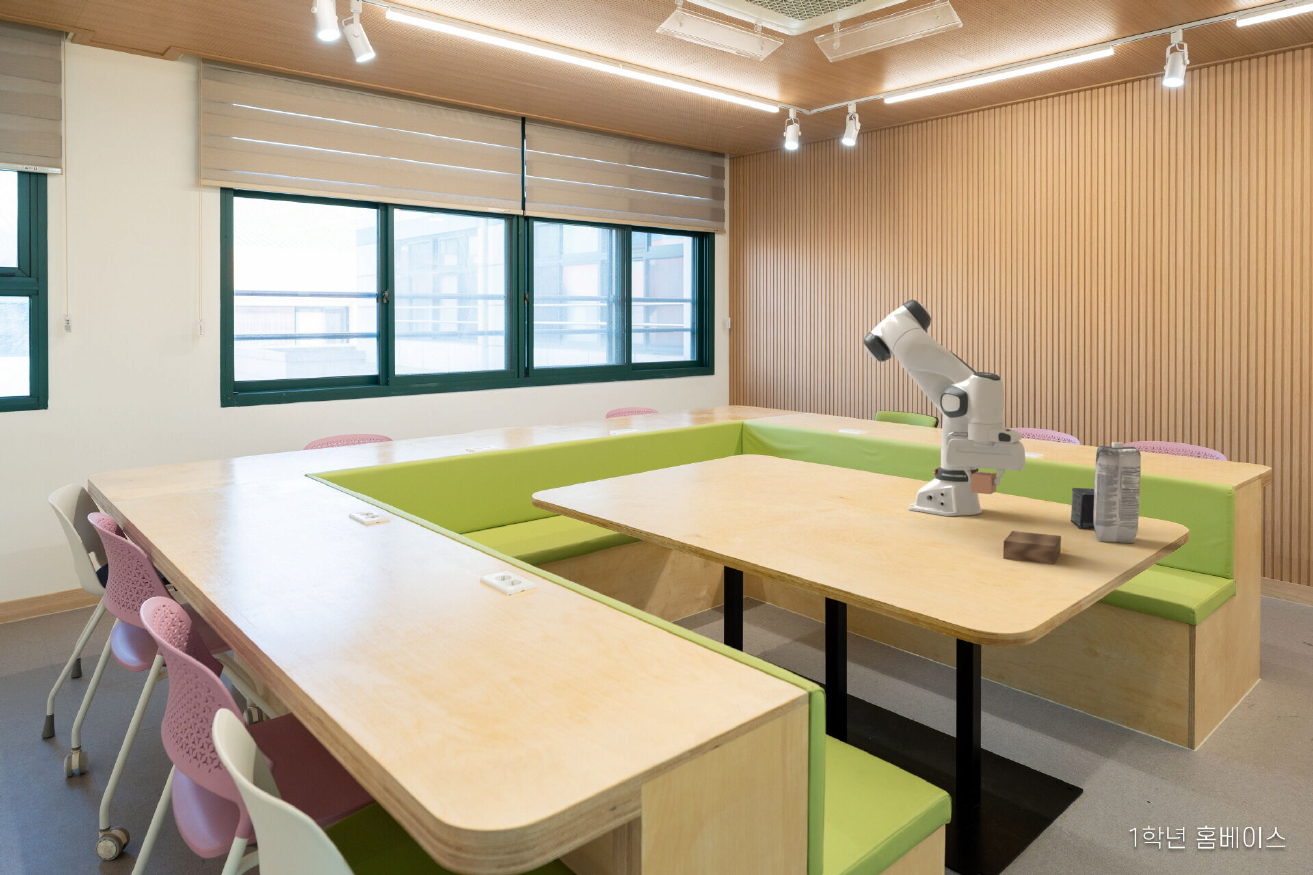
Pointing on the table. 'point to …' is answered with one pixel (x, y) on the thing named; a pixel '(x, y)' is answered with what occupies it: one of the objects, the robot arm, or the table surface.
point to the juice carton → (1117, 493)
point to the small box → (1083, 508)
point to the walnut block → (1032, 547)
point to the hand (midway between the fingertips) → (983, 484)
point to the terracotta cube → (983, 483)
